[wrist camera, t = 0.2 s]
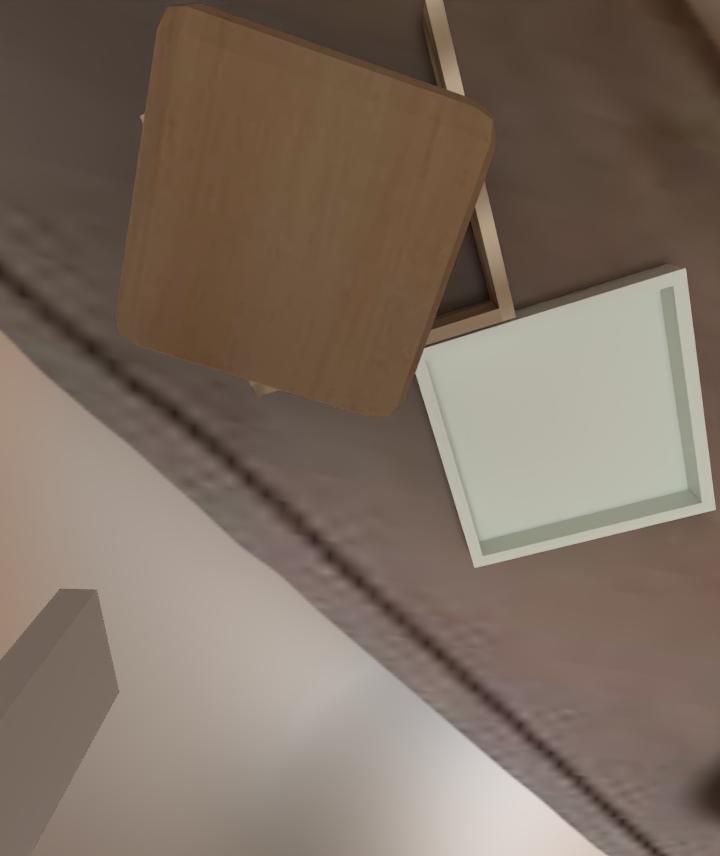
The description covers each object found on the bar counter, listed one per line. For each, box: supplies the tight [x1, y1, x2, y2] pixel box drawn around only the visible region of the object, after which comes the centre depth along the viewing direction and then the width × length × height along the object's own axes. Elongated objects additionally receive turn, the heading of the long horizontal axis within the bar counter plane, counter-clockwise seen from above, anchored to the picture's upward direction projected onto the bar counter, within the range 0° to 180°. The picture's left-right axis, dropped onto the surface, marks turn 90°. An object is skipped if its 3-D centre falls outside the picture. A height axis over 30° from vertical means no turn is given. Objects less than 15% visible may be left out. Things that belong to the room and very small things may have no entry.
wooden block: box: [115, 3, 496, 417], centre depth 26 cm, size 10×10×20 cm
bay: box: [140, 0, 516, 397], centre depth 34 cm, size 17×17×4 cm
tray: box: [415, 264, 716, 568], centre depth 38 cm, size 17×17×2 cm
